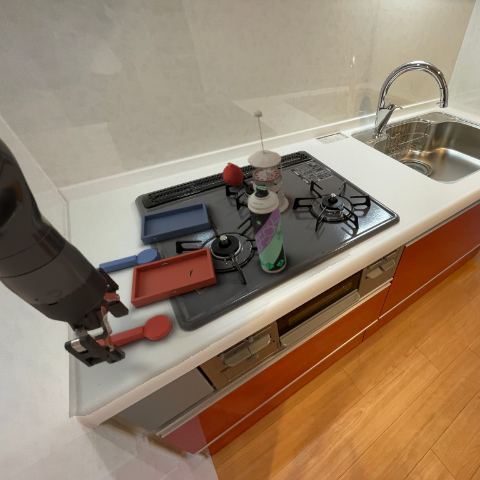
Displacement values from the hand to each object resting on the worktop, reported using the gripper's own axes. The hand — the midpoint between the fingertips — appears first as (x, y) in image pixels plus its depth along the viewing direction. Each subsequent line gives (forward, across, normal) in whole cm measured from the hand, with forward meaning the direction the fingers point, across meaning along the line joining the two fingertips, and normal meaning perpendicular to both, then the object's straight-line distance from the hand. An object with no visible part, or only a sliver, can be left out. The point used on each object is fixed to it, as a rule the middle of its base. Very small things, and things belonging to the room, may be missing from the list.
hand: (121, 335), depth 46 cm
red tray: (+2, -11, +9) cm, 14 cm away
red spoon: (+2, 0, +2) cm, 2 cm away
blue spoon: (+2, -19, 0) cm, 19 cm away
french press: (+2, -29, +35) cm, 45 cm away
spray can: (+2, -7, +29) cm, 30 cm away
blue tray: (+2, -29, +10) cm, 31 cm away
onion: (+2, -41, +27) cm, 49 cm away
